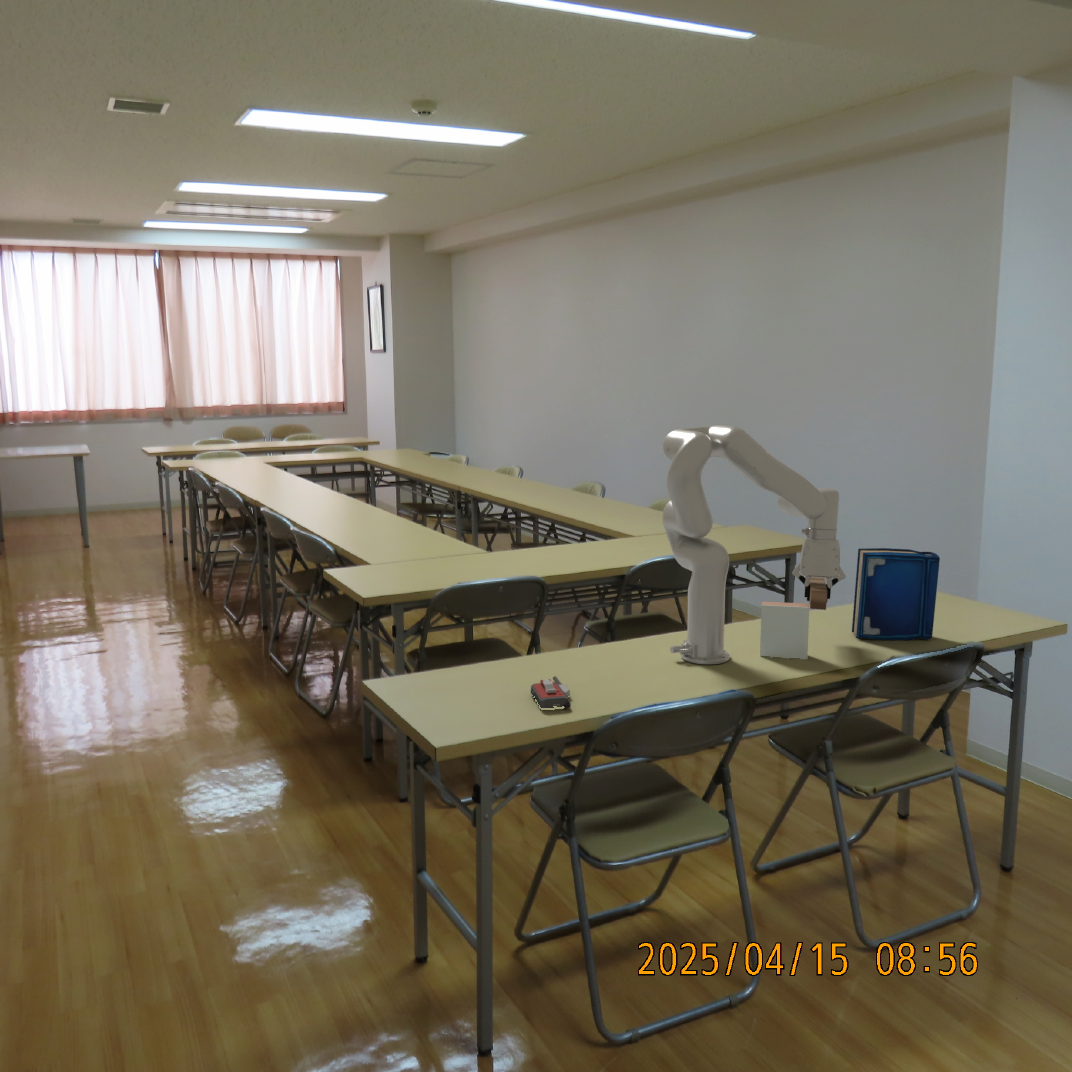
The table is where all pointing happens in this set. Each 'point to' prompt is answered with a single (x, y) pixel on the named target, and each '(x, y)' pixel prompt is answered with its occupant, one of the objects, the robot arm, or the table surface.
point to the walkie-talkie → (551, 693)
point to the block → (818, 593)
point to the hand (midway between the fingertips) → (817, 600)
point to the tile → (784, 630)
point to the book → (895, 594)
